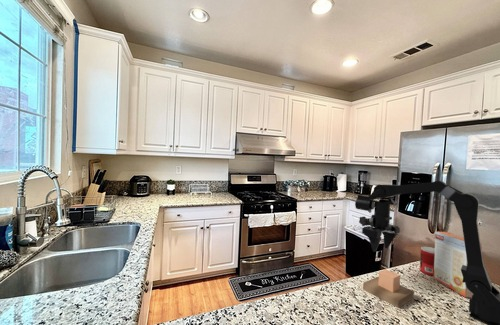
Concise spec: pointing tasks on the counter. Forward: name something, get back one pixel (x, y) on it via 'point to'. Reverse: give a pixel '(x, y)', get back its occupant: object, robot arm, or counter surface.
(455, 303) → the counter surface
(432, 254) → the canned food
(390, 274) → the cube
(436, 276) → the cracker box
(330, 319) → the counter surface
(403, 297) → the base slab
